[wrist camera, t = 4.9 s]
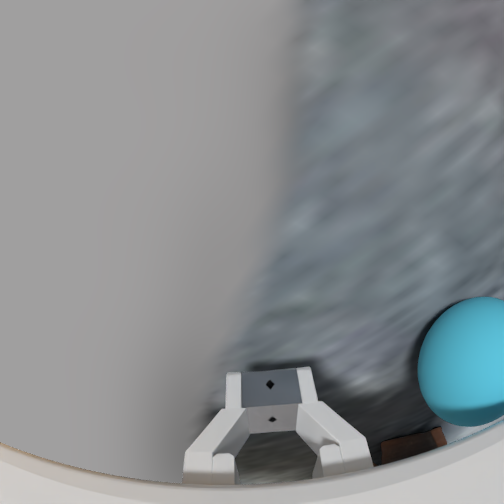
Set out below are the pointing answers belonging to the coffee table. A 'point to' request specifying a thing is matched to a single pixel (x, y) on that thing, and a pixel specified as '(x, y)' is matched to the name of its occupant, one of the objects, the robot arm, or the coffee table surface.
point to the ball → (465, 363)
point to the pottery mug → (411, 445)
